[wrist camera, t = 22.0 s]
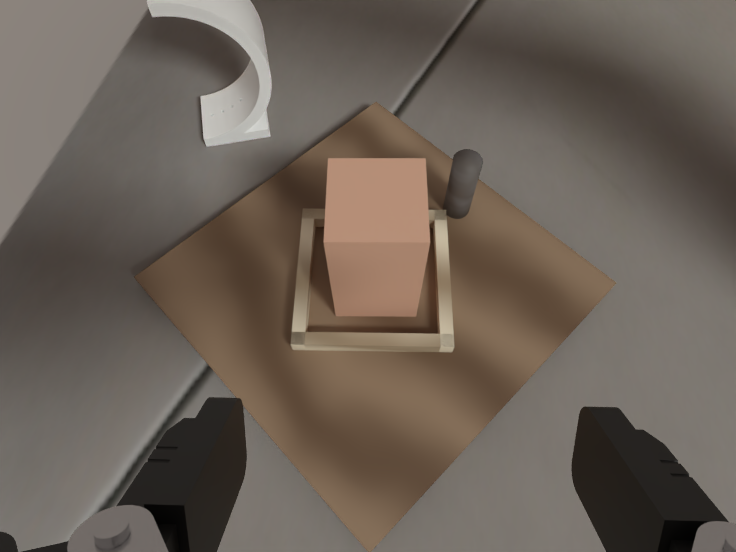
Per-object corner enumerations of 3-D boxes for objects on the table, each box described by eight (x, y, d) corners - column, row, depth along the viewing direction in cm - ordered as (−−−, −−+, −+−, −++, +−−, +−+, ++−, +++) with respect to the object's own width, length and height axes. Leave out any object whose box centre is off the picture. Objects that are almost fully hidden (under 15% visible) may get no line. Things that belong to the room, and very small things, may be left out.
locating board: (375, 112, 42) (376, 47, 36) (609, 291, 34) (654, 243, 29) (141, 285, 35) (97, 236, 29) (369, 553, 28) (368, 555, 22)
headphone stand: (203, 104, 42) (146, -45, 32) (276, 93, 43) (245, -57, 32) (206, 147, 40) (146, 4, 30) (283, 135, 41) (252, -10, 30)
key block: (413, 246, 35) (425, 158, 27) (416, 316, 32) (430, 242, 24) (338, 246, 35) (328, 158, 27) (335, 316, 32) (323, 242, 24)
